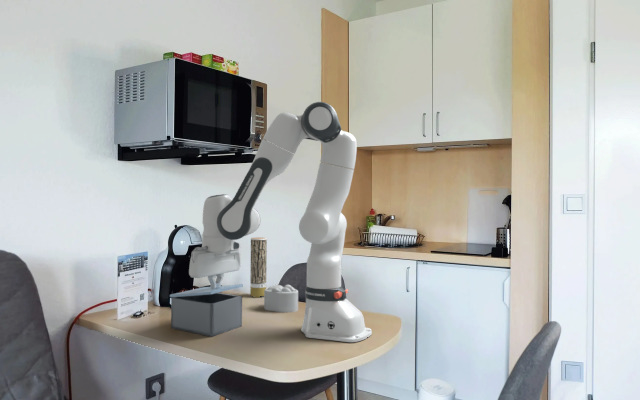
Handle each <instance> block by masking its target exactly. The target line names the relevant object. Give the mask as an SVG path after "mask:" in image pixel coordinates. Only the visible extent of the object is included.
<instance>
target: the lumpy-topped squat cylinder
mask: <svg viewBox="0 0 640 400" xmlns="http://www.w3.org/2000/svg"><path fill="white" fill-rule="evenodd" d="M263 301H264V302H263V308H264V310H266V311H268V312H269V311H270V312H276V313H292V312H293V313H294V312H297V311H299V290H298V289H296V288H295V287H293V286H292V285H290V284H285V285H284V286H283V285H280V284H275V285H271V286H268V287H267V288H266V289H265V290H264V298H263Z"/></svg>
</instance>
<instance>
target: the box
mask: <svg viewBox="0 0 640 400" xmlns="http://www.w3.org/2000/svg"><path fill="white" fill-rule="evenodd" d="M170 301H171V302H170V304H171V306H170V307H171V308H170V312H171V313H170V314H171V316H170V329H172V330H178V331H182V332H187V333H192V334H197V335H201V336H206V337H210V338H212V337H216V336H218V335H221V334H224V333H227V332H229V331H232V330H236V329H238V328H241V327H243V296H242V295H235V294H228V293H222V292H219V293H215V294H209V295H195V296H181V297H170Z"/></svg>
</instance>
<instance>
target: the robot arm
mask: <svg viewBox="0 0 640 400" xmlns="http://www.w3.org/2000/svg"><path fill="white" fill-rule="evenodd" d="M304 140H311V141H315V142H317V141H318V142H320V143H321V146H322V147H321V148H322V150H321V156H320V160H319V165H318V170H317V174H316V175H317V176H316V179H315V180H316V181H315V183H314V187H313V190H312V193H311V196H310V199H309V200H308V203H307V206H306V209H305V212H304V214H303V215H302V217H301V219H300V220H299V223H298V230H299V231H298V232H299V233H300V236H301V238H303V239H304V240H305V241H306V242H308V243H310V245H311V246H310V250H309V254H308V258H307V260H306V285H305V287H304V288H305V290H304V299H305V308H304V309H305V310H304V315H303V316H304V317H303V321H302V325H301V328H300V331H301V332H302V333H303V334H304V335H305V337H306V338H310V339H319V340H327V341H337V342H343V343H356V342H360V341H364V340H366V339H367V337H368V338H369V337H370V336H371V335H372V334H373V331H372V329H371V328H370V327H366V324H365V318H364V315H363V312H362V311H361V310H359V309H358V308H357V307H356V306H355V305H354V304H353V303H352V302H350V300H349V299H347V294H348V293H349V292H348V291H349V289H344V288H343V285H342V261H343V252H344V245H345V237H346V230H347V226H348V222H347V221H348V220H347V218H346V216H345V215H344V214H343V212H342V211H343V207H344V204H345V202H346V200H347V198H348V196H349V195H350V190H351V186H352V181H353V178H354V177H353V176H354V172H355V166H356V161H357V150H358V147H357V145H358V144H357V143H358V142H357V139H356V137H355V136H354V135H353V134H352V133H350V132H348V131H345V130H342V125H341V124H340V120H339V117H338V114H337V111H336V110H335V108H334V107H333V106H332V105H331V104H329V103H327V102H324V101H316V102H313V103H310V104H309V105H308V106H307V107H306V108H305V110H304V111H303V114H301V115H297V114H294V113H292V112H288V111H286V112H280V113H279V114H278V115H277V116H276V117H275V118H274V119H273V120H272V122H271V124H270V126H269V127H268V128H267V130H266V132H265V133H264V136H263V138H262V140H261V142H260V145H259V146H258V149H257V151H256V153H255V156H254V159H253V161H252V163H251V165H250V167H249V169H248V171H247V173H246V175H245V176H244V179H243V180H242V182H241V184H240V186H239V188H238V189H237V192H235V195H234V197H231V196H230V195H228V194H224V193H223V194H216V195H210V196H208V197H207V198H206V199H205V200H204V202H203V203H204V204H203V209H202V225H203V231H202V238H201V239H202V240H201V241H202V242H201V243H202V244H201V247H200V246H197V247H194V249H193V250H192V251H191V257H190V259H189V260H190V261H189V267H188V268H189V269H188V275H189V276H190V278H194V279H200V278H205V277H206V278H207V280H208V282H209V283H210V285H209V287H210V288H211V289H216V288H220V287H221V286H222V281H223V280H224V276H225V274H227V273H231V272H232V273H233V272H237V271H240V268H241V264H242V254H241V251H240V249H241V248H242V244H241V242H239V241H237V240H240V239H243V238H244V237H246V236H249V235H251V234H253V233H254V232H257V230H258V229H259V228H260V225H261V215H260V213H259V212H258V210H257V208H254V207H255V204H256V203H257V201H258V200H259V198H260V195H261V193H262V191H263V190H264V188H265V187H266V185H267V184H268V183H269V182H270V181H271V180H272V179H274V178H276V177H277V176H280V175H281V174H283V173H284V172H285V171H286V169H288V166H289V165H290V163H291V162H292V160H293V159H294V156H295V154H296V152H297V150H298V147H299V146H300V144H301V143H302V141H304Z"/></svg>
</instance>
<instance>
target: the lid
mask: <svg viewBox="0 0 640 400" xmlns="http://www.w3.org/2000/svg"><path fill="white" fill-rule="evenodd" d="M243 286H244V285H243V284H242V283H241V284H229V285H221V287H220V288H216V289H211V288H210V286H206V287H205V286H204V287H199V288H195V289H190V290H185V291H182V292H176V293H171V294H169V298H173V297H181V296H195V295H209V294H215V293H222V292H227V291H231V290H234V289H239V288H243Z"/></svg>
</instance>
